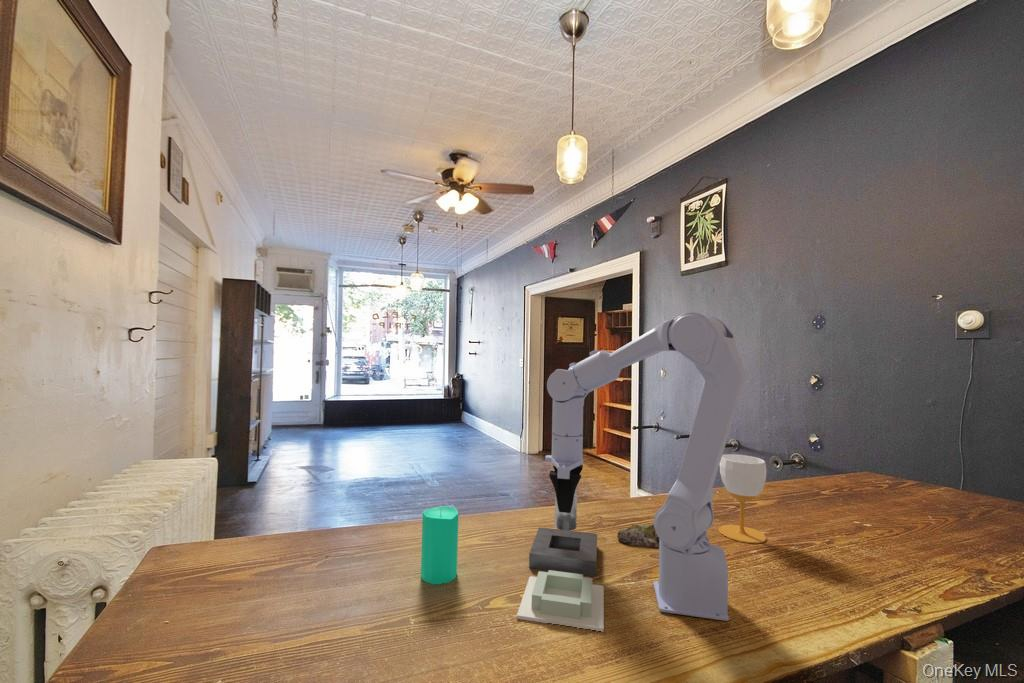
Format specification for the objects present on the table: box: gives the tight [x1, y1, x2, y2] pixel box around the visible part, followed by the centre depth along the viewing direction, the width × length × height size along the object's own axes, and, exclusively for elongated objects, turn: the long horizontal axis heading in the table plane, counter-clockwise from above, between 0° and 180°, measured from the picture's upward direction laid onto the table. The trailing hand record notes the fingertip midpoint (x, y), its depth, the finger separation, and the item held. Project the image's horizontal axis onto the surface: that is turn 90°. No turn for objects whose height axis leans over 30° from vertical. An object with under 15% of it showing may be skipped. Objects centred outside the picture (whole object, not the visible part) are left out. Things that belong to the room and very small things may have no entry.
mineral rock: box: [616, 522, 660, 548], centre depth 88 cm, size 11×4×8 cm
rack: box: [516, 570, 605, 633], centre depth 65 cm, size 12×11×2 cm
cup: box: [718, 453, 768, 544], centre depth 92 cm, size 9×9×16 cm
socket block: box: [528, 527, 598, 577], centre depth 80 cm, size 12×12×2 cm
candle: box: [420, 502, 460, 585], centre depth 72 cm, size 6×6×12 cm
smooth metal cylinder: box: [554, 486, 578, 531], centre depth 80 cm, size 4×4×8 cm
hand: (565, 507), depth 80 cm, fingers closed on smooth metal cylinder, 4 cm apart
